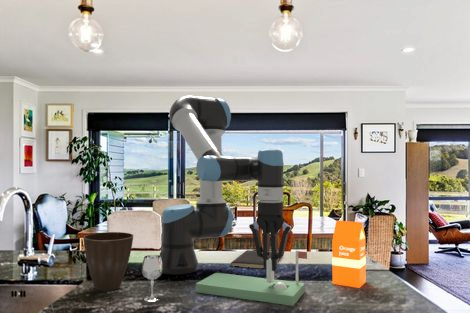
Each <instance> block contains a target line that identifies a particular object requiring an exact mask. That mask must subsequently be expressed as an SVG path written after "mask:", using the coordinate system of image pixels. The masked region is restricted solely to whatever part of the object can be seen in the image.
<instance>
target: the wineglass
mask: <svg viewBox="0 0 470 313" xmlns="http://www.w3.org/2000/svg"><path fill="white" fill-rule="evenodd" d="M159 255H160V254H150V255H144V257H143V260H142V264H141V273H142V276H143V277H144V278H146V279H148V280H150V287H151V289H150V292H151V294H150V296H147V297H145V298H144V299H143V301H144V302H146V303H147V302H148V303H154V302H158V301H160V299H161V298H160V296H155V295H154V285H155V281H154V280H157V279H158V278H160V277H161V276H162V275H163V273H162V270H163V265H162V259H161V256H159Z"/></svg>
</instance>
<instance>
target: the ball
mask: <svg viewBox="0 0 470 313" xmlns="http://www.w3.org/2000/svg"><path fill="white" fill-rule="evenodd" d="M273 289H279V290H286V289H287V287H286V285H285V284H284V283H282V282H278V283H276V284H275V285H274V287H273Z"/></svg>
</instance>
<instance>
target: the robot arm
mask: <svg viewBox="0 0 470 313" xmlns="http://www.w3.org/2000/svg"><path fill="white" fill-rule="evenodd" d="M168 116H169V120H170V123H171V125H172V127H173V128H174V130H176V131H178V132H179V133H180V134H181V135H182V137H183V139H184V141H185V142H186V144H187V145H188V146H189V149H190V150H191V152H192V154H193V155H194V156H195V158H196V159H197V162H196V174H197V177H198V179H199V199H198V200H197V201H196V202H195V205H196V207H195V206H194V204H192V203H187V204H186V203H185V204H175V205H171V206H168V207H165V208H164V209H163V210H162V212H161V250H160V252H159V254H158V255H159V256H161V259H162V265H163V270H162V274H165V275H186V274H192V273H195V272H197V271H199V262H198V258H197V254H196V251H195V247H194V241H195V240H200V239H201V240H202V239H212V238H214V239H218V238H221V237H225V236H226V235H228V234H229V233H230V231H231V229H232V228H233V220H234V216H233V212H232V209H231V207H229V206H227V201H226V200H225V199H224V198H223V182H238V181H239V182H240V181H241V182H242V181H243V182H246V181H248V182H249V181H250V182H251V181H253V182H255V181H256V182H257V201H258V202H257V217H256V220H255V222H253V223H250V224H249V225H248V227H249V229H250V230H251V232H252V239H253V242H254V245H255V251H257V256H258V257H262V258H263V268H264V269H263V270H264V271H266V274H265V275H266V282H268V283H272V282H273V281H274V279H275V272H276V271H277V270H278V261H277V259H279V260H280V259H281V258H283V257H284V256H285V251H286V247H287V242H288V238H289V235H290V234H289V233H290V232H291V230H292V229H293V226H292V225H289V224H288V223H287V222H286V221H285V218H284V203H283V202H282V201H283V200H284V154H283V151H282V150H280V149H259V150H258V152H257V156H226V155H223V153H222V136H223V135H224V134H225V133H226V129H227V128H228V127H229V126H230V124H231V119H232V112H231V108H230V106H229V104H228V103H227V101H226V100H225V99H222V98H217V97H210V96H209V97H208V96H196V95H184V96H181V97H179V98H178V99H177V100H175V101H174V102H173V103H172V105H171V107H170V109H169V115H168ZM259 228H260V230H261V231H262V239H261V235H260V230H259ZM281 229H282V234H281V239H280V242H279V240H278V239H279V237H278V236H279V231H280V230H281ZM270 238H271V240H270ZM278 242H279V246H278ZM270 246H271V248H270ZM270 250H271V251H270ZM269 252H271V258H269V257H270V256H269Z"/></svg>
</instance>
